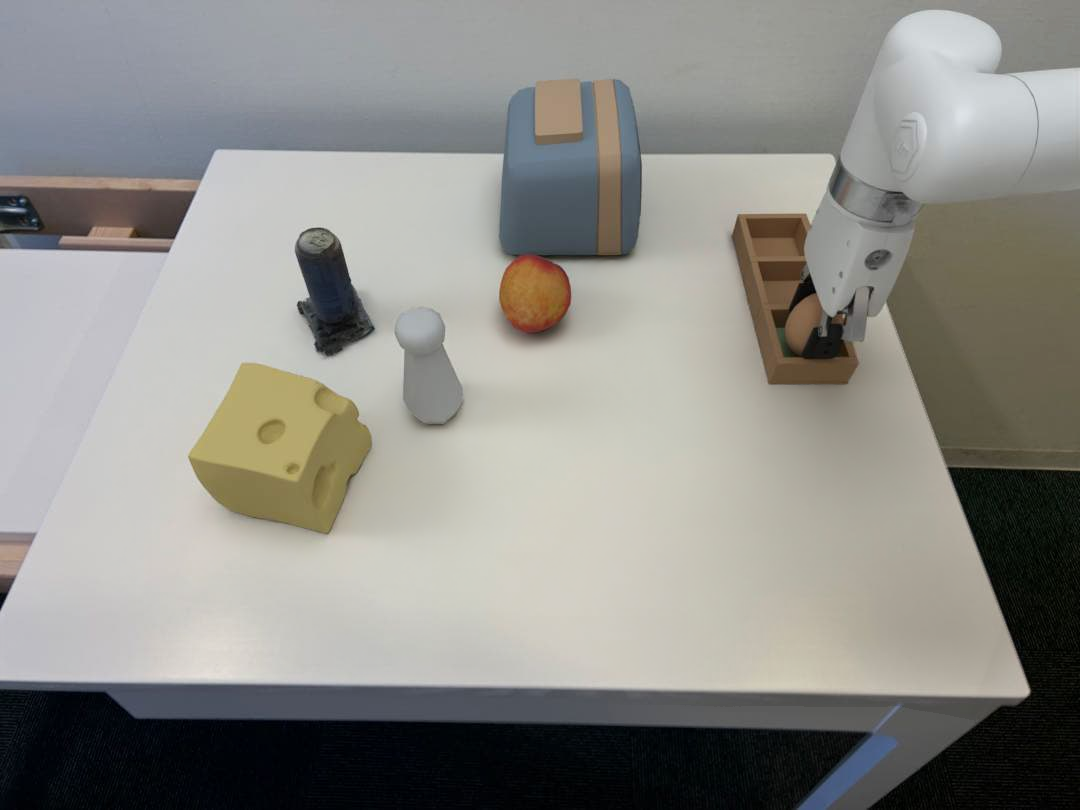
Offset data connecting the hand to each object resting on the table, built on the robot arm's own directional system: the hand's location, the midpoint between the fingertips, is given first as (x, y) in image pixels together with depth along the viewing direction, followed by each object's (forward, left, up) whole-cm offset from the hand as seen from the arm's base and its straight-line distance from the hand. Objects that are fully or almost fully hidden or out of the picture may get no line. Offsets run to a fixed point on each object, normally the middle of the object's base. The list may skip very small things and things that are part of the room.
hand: (811, 332), depth 71 cm
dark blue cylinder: (+6, +50, -4) cm, 50 cm away
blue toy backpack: (+23, +24, -4) cm, 33 cm away
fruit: (+6, +28, -4) cm, 29 cm away
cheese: (-14, +50, -4) cm, 52 cm away
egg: (0, 0, -3) cm, 3 cm away
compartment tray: (+8, 0, -4) cm, 8 cm away
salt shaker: (-6, +38, -4) cm, 39 cm away
